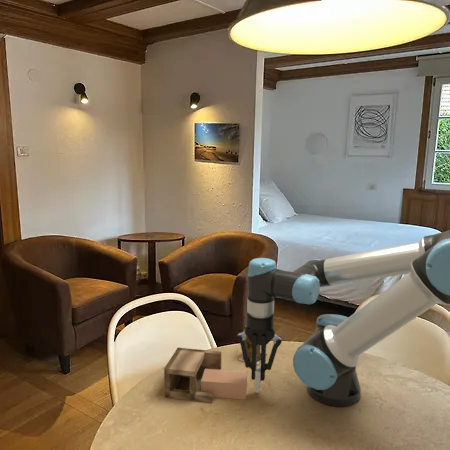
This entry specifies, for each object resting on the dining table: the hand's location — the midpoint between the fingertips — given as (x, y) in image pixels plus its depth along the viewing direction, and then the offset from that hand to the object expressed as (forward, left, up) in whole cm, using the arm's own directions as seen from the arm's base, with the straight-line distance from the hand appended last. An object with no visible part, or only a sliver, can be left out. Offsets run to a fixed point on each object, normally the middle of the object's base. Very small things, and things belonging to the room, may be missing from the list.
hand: (257, 389), depth 122 cm
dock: (+19, 0, -2) cm, 19 cm away
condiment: (+4, -22, -2) cm, 22 cm away
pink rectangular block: (+10, 0, -2) cm, 10 cm away
